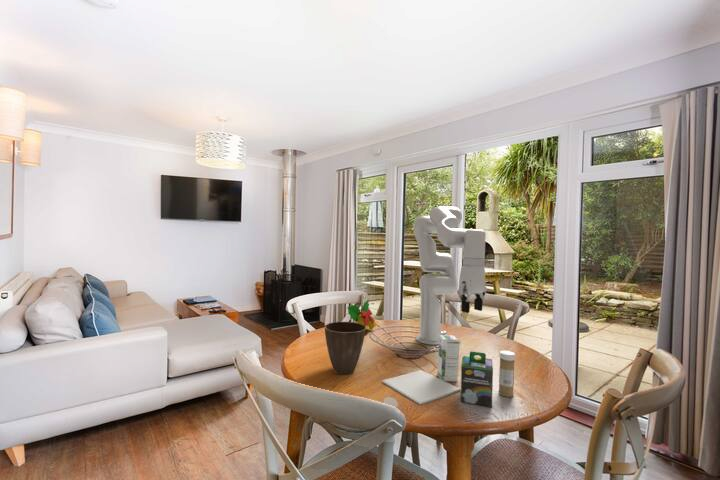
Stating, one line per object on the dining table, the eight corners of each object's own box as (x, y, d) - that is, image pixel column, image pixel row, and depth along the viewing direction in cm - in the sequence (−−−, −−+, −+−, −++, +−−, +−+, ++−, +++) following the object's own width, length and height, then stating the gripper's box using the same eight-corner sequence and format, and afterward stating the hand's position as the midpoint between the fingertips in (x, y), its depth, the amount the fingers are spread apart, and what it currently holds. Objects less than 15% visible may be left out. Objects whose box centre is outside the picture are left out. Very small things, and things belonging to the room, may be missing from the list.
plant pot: (315, 367, 127) (316, 324, 127) (348, 360, 137) (349, 319, 136) (338, 382, 116) (339, 334, 115) (372, 372, 125) (374, 328, 124)
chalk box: (491, 395, 110) (493, 348, 110) (492, 408, 102) (494, 358, 101) (461, 389, 113) (463, 344, 113) (459, 402, 105) (461, 353, 104)
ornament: (360, 338, 165) (362, 307, 165) (346, 335, 170) (347, 304, 169) (380, 328, 183) (381, 300, 183) (366, 326, 187) (367, 298, 187)
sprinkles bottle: (514, 393, 112) (516, 351, 112) (512, 398, 108) (513, 355, 108) (499, 389, 114) (501, 348, 114) (496, 394, 111) (498, 352, 110)
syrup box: (436, 375, 125) (438, 334, 124) (452, 374, 125) (454, 334, 125) (441, 381, 119) (443, 339, 119) (458, 381, 120) (460, 339, 119)
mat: (421, 371, 127) (421, 370, 127) (460, 390, 112) (460, 389, 112) (382, 382, 117) (382, 380, 117) (420, 404, 102) (420, 402, 102)
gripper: (479, 261, 136) (478, 306, 136) (449, 262, 126) (447, 311, 127) (496, 263, 130) (494, 310, 130) (466, 264, 120) (464, 315, 121)
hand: (471, 310), depth 128 cm, fingers open, 6 cm apart
